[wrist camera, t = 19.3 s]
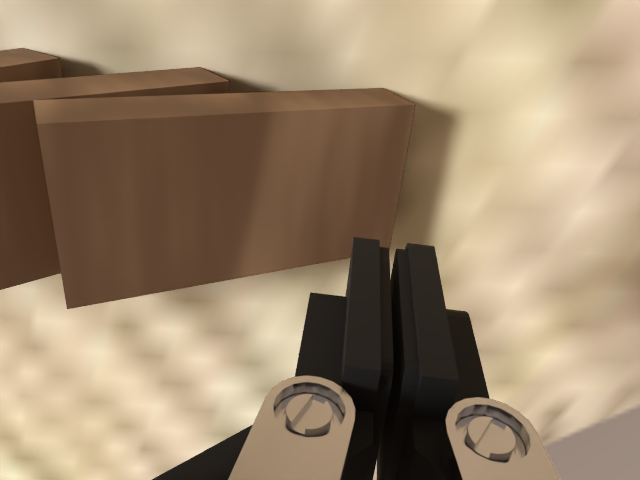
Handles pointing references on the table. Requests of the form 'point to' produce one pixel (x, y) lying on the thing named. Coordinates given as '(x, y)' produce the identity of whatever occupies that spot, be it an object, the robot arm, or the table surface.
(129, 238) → the brown wooden block
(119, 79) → the tile
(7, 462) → the table surface
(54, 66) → the tile
